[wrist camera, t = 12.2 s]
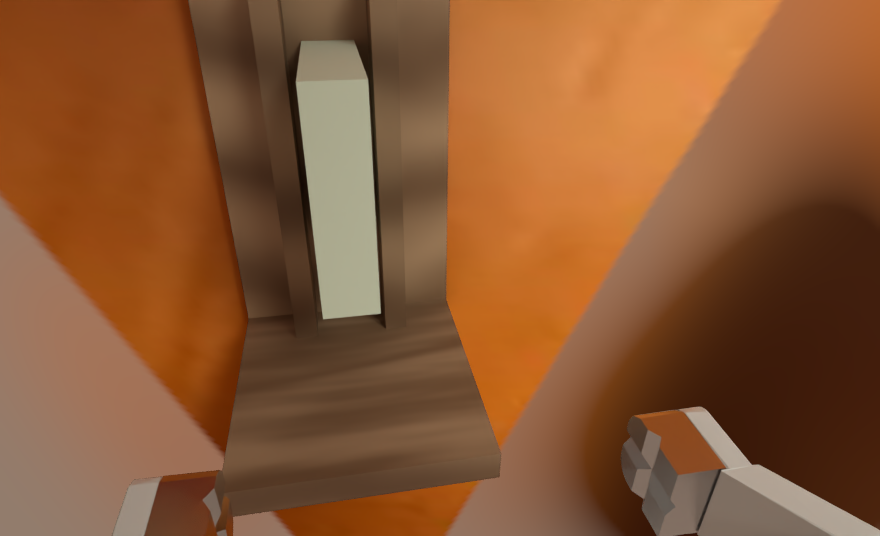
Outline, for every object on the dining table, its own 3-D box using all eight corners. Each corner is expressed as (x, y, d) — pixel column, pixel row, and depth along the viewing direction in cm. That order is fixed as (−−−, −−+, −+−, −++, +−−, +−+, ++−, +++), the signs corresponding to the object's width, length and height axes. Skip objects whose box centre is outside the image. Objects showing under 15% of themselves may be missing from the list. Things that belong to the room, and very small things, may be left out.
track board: (187, -31, 27) (84, -1, 15) (445, -31, 29) (537, -7, 17) (254, 327, 37) (224, 517, 25) (442, 308, 39) (499, 477, 27)
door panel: (301, 41, 28) (295, 81, 20) (353, 39, 28) (368, 79, 21) (321, 229, 33) (322, 319, 25) (365, 226, 33) (380, 313, 26)
